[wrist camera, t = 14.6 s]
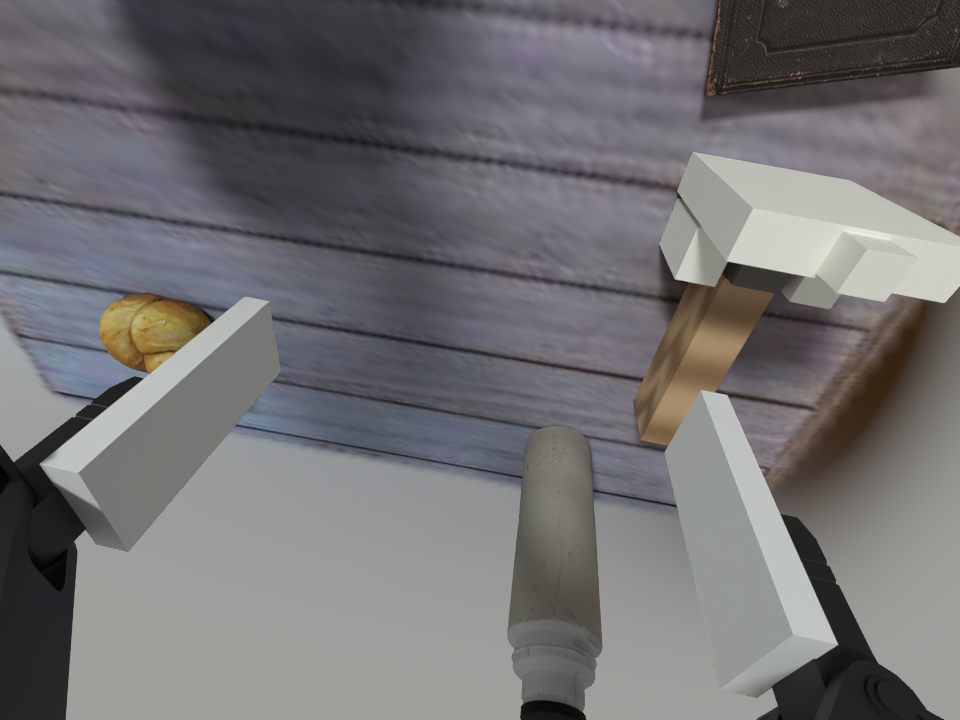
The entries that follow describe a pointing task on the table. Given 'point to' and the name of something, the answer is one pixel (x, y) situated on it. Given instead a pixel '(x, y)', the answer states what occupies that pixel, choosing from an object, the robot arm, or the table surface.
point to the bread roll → (149, 329)
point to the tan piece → (702, 345)
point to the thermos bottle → (555, 578)
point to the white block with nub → (805, 234)
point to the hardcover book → (828, 41)
